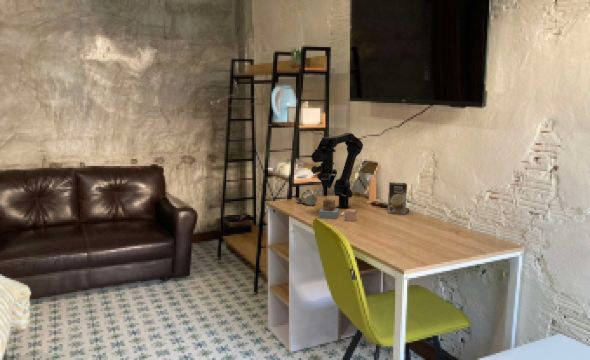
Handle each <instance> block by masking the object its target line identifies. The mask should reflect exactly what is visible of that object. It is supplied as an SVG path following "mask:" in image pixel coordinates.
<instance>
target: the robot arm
mask: <svg viewBox="0 0 590 360" xmlns="http://www.w3.org/2000/svg"><path fill="white" fill-rule="evenodd" d="M342 143H344V144H345V146H346V152H347V156H346V159H345V162H344V165H343V169H342V171H341V175H340V178H338V179H336V177H337V175H338V170H337V169H336V168H334V164H335V162H334V153H336V149H335V148H336V147H337V145H339V144H342ZM363 147H364V144H363V142H362V140H360V138H358V137H356V136H355V134H353V133H352V132H350V133H349V132H344V133H343V134H339V135H335V136H323V137H321V139H320V141H319V144H318V146H317V148H316V149H314V151H313V152H312V154H311V156H310V157H311V160H312V162H313V163H315V164H316V163H320V165H318V166H316V165H314V166H312V167H311V169H310V170H311V172H312V174H313V175H315V174H317V173H318V174H317V177H316V178H317V179H318V181H320V182H321V184H322V189H323V191H324V192H327V189H331V188H332V186H333V192H334V196H335V197H338V205H337V206H336V208H339V209H350V207H351V205H350V203H349V202H350V199H351V198H352V197H353V195H354V192H353V191H352V189H351V183H350V179H351V175H352V173H353V172H352V171H353V169H354V165H355V162H356V158H357V157H358V156H359V155H360V154H361V152H362V151H363ZM335 179H336V180H335ZM334 181H335V183H334ZM333 183H334V185H333Z"/></svg>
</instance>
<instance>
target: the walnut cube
mask: <svg viewBox="0 0 590 360" xmlns="http://www.w3.org/2000/svg"><path fill="white" fill-rule="evenodd" d="M322 208H323V211H333V210H335V208H336V200H335V199H329V198H325V199H324V200H323V201H322Z"/></svg>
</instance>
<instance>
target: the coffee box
mask: <svg viewBox="0 0 590 360" xmlns="http://www.w3.org/2000/svg"><path fill="white" fill-rule="evenodd" d="M407 191H408V184H407V183H406V182H389V183H388V195H387V196H388V197H387V198H388V199H387V213H388V214H389V215H392V214H393V215H406V210H407V209H406V208H407Z"/></svg>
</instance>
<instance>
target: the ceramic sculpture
mask: <svg viewBox="0 0 590 360" xmlns="http://www.w3.org/2000/svg"><path fill="white" fill-rule="evenodd" d="M295 200H296V201H297V203H303V204H306V205H307V206H309V207H310V206H315V205H316V203H317V201H318V198H317V196H316V195H315V194H314V193H313V192H312V191H311V190H310V189H306V191H303V192H302V193H301V196H300V197H295Z"/></svg>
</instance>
